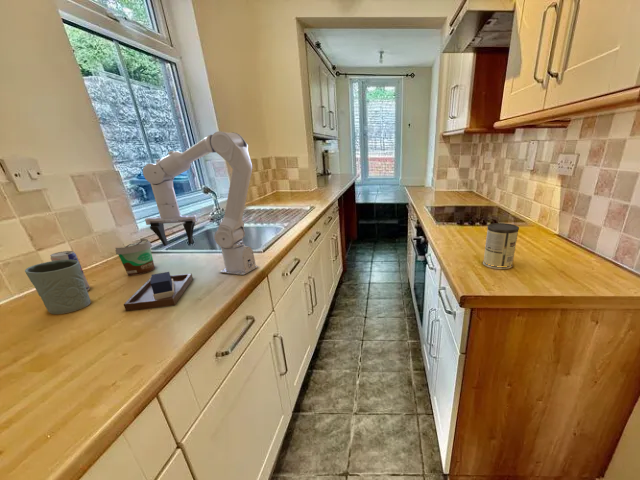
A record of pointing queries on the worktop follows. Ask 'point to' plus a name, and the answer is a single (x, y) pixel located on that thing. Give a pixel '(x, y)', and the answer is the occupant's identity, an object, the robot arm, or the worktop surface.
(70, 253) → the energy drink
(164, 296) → the board eraser
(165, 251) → the worktop surface
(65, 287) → the grey plant pot
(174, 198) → the robot arm
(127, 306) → the tray
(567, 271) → the worktop surface
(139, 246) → the food container
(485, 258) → the coffee can
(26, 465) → the worktop surface
